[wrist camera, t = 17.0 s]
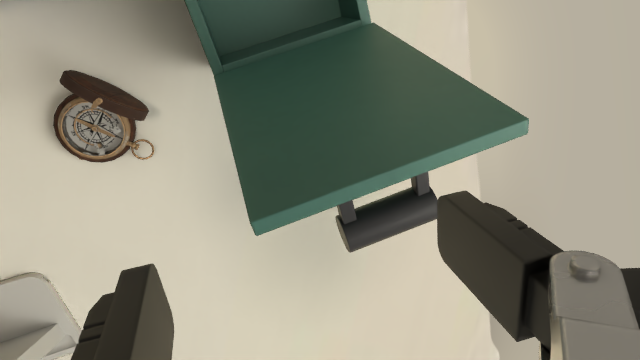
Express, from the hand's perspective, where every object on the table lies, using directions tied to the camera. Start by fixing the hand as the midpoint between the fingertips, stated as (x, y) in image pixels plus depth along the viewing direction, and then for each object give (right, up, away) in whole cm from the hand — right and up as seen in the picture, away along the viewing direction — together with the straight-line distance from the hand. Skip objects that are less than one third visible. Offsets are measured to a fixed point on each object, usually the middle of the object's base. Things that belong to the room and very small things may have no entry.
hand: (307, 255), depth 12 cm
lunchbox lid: (+1, +7, +13) cm, 15 cm away
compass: (-17, +7, +25) cm, 31 cm away
